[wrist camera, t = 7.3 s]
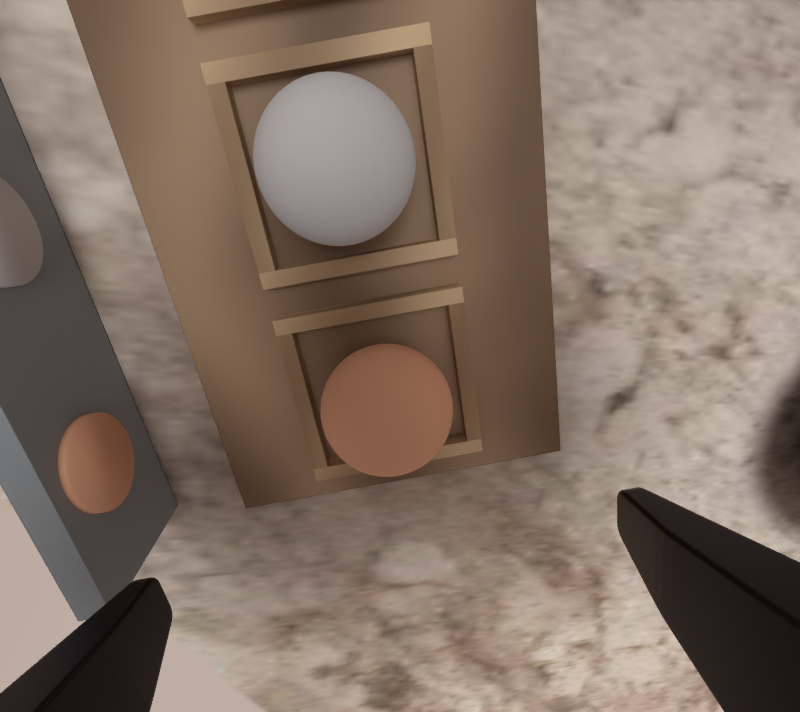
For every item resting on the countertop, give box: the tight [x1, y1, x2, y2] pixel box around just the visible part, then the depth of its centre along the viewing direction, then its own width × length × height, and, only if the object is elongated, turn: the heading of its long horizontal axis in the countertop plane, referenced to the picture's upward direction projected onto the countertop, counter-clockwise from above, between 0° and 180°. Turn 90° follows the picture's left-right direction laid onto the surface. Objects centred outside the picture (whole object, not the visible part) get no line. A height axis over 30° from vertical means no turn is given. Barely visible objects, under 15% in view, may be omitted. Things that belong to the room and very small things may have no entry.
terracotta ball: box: [321, 344, 453, 477], centre depth 14 cm, size 4×4×4 cm
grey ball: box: [253, 71, 416, 246], centre depth 12 cm, size 4×4×4 cm
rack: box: [67, 0, 560, 508], centre depth 14 cm, size 12×22×2 cm, turn 10°
